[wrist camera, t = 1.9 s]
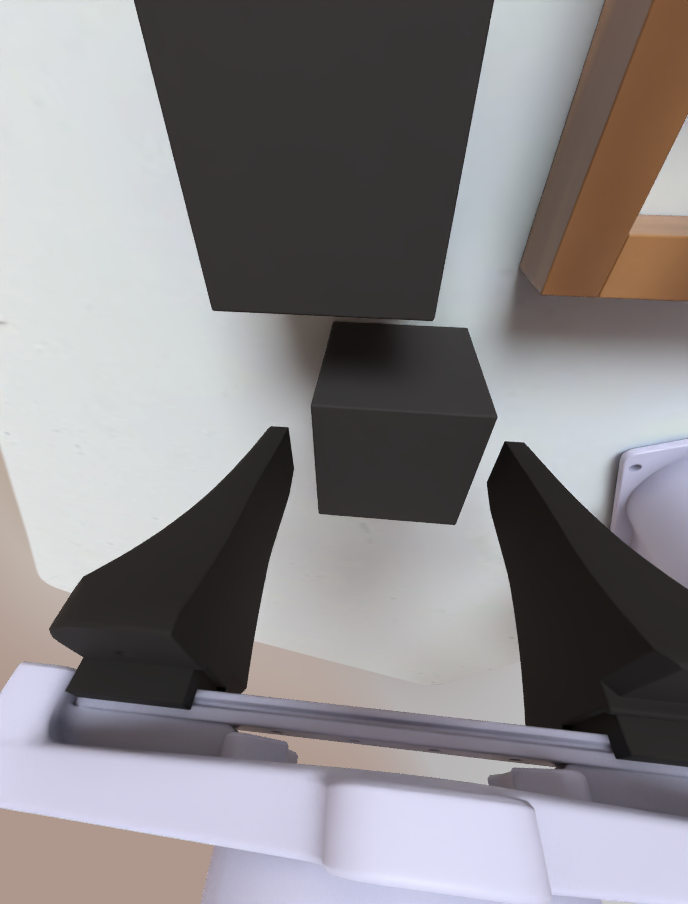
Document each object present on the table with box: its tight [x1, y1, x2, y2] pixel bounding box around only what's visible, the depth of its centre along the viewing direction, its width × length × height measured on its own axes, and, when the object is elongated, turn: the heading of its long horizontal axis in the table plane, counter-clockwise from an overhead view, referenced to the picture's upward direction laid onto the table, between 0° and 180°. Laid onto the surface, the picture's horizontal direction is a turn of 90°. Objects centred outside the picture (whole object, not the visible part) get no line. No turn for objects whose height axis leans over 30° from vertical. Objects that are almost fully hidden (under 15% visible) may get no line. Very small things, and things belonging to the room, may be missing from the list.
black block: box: [134, 0, 494, 321], centre depth 8 cm, size 5×5×6 cm
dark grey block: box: [311, 322, 497, 525], centre depth 14 cm, size 5×5×6 cm
